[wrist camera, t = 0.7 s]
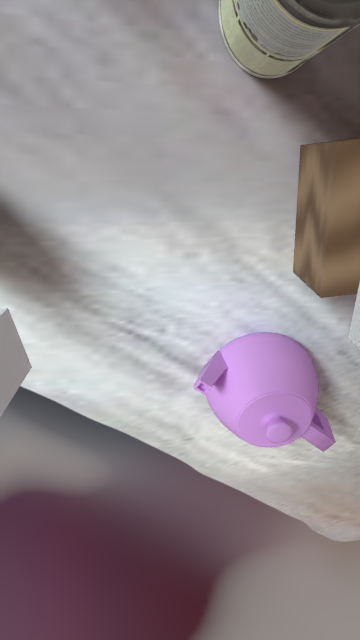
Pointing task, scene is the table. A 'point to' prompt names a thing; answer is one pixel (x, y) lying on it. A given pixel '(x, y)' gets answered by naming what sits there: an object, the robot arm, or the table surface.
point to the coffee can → (282, 31)
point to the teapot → (266, 391)
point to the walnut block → (329, 217)
